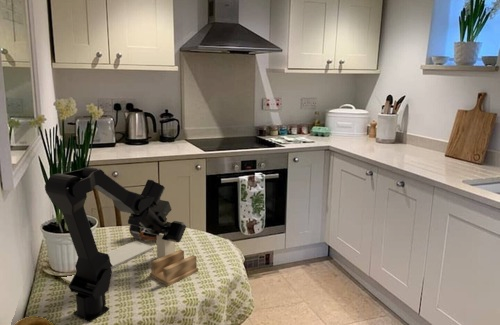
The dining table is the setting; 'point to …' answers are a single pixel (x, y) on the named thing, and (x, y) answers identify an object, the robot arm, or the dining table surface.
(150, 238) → the tin
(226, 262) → the dining table surface
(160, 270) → the wooden slotted stand
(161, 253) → the off-white rectangular block
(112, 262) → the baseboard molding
